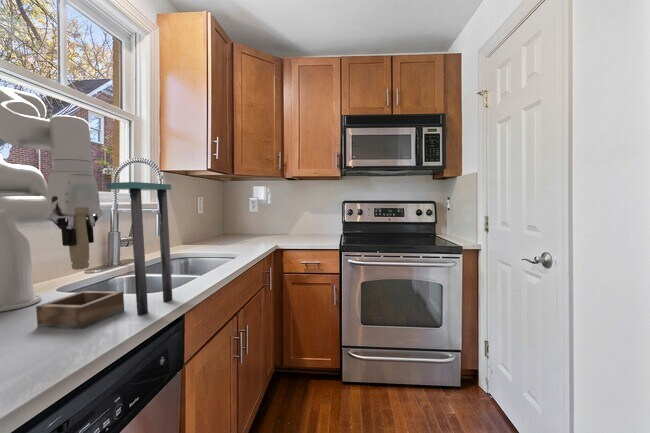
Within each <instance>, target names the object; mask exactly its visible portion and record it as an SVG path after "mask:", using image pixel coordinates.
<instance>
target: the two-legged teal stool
mask: <svg viewBox="0 0 650 433" xmlns="http://www.w3.org/2000/svg"><path fill="white" fill-rule="evenodd" d="M106 189H107V190H118V191H119V190H124V191H129V200H130V203H129V204H130V217H131V218H130V219H131V236H132V249H133V251H132V252H133V253H132V254H133V267H134V283H135V298H136V299H135V301H136V302H135V303H136V315H137V316H146V315H147V314H149V305H148V290H147V289H148V287H147V272H146V271H147V270H146V269H147V268H146V257H145V256H146V255H145V254H146V253H145V238H144V237H145V236H144V221H143V205H142V202H143V201H142V191H156V197H157V198H156V199H157V213H158V231H159V247H160V248H159V250H160V252H159V253H160V264H161V266H160V267H161V269H160V270H161V284H162V285H161V287H162V302H163V303H169V302H172V301H173V286H172V285H173V284H172V282H173V281H172V280H173V279H172V264H171V245H170V228H169V208H168V191H169V190H170V191H171V190H172V184H167V183H155V182H153V183H152V182H143V181H141V182H140V181H139V182H138V181H126V182H123V181H122V182H107V183H106Z"/></svg>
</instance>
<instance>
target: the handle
mask: <svg viewBox="0 0 650 433" xmlns="http://www.w3.org/2000/svg"><path fill="white" fill-rule="evenodd" d="M74 213H75V214H76V216H74V221H73V228H72V229H75V230H76V242H77V244H76V245H75V246H68V251H69V258H70V262H71V268H72V270H76V271H77V270H85V269H88V268H89V267H90V262H89V261H90V243H89V241H88V234H87V227H86V219H87V217H86V215H88V214H89V208H75V211H74Z"/></svg>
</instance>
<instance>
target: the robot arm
mask: <svg viewBox="0 0 650 433" xmlns="http://www.w3.org/2000/svg"><path fill="white" fill-rule="evenodd" d="M46 116H47V108H46V105H45V103H44V102H43V100H42V99H41V98H40V97H38V96H36V95H35V94H32V93H30V92H29V93H28V92H25V91H21V90H18V89H13V88H8V87H6V86H1V85H0V140H1V141H3V142H5V143H7V144H8V145H11V146H14V147H16V148H17V147H19V148H24V149H32V150H33V149H34V150H40V151H41V150H42V151H48V152H51V161H52V162H51V163H52V173H49V176H48V180H47V181H46V178H45V177H44V175H43V173H42V172H41V171H40V170H39V169H38V168H36V167H35V166H32V165H26V164H25V165H24V164H23V165H22V164H13V163H8V162H6V161H5V160H4V158H3V157H2V153H1V152H0V312H8V311H12V310H17V309H21V308H26V307H28V306H31V305H34V304H36V303H39V302H41V300H42V296H41V295H39V294H35V291H34V284H33V283H34V282H33V281H34V280H33V270H32V257H31V256H32V255H31V246H30V244H31V243H30V241H29V240H28V238H27V237H26V236H25V235H24V234H23V233H22V232H21V231H20V230H19V229H20V228H21V229H22V228H32V227H39V226H40V227H43V226H49V225H52V224H53V223H54V224H55V225H56V227H57V229H58V230H61V243H62V246H64V247H69V246H75V245H76V244H77V242H76V230H75V229H72V228H73V221H74V216H76V214H75V213H74V211H75V208H89V214H88V215H86V227H87V234H88V241H89V244H92V243H94V242H95V238H94V236H95V235H94V227H96V223H97V221H98V220H99V219H100V218H101V217H102V216H103V215H104V212H103V211H102V209H101V205H100V203H101V202H100V194H99V189H98V184H97V180H96V177H95V175H94V171H95V167H94V166H93V159H92V158H93V156H92V154H93V153H92V141H91V139H92V138H91V126H90V124H89V122H88V121H87V120H85V119H84V118H81V117H79V116H78V117H77V116H74V115H73V116H71V115H66V114H65V115H63V114H62V115H60V114H59V115H53V116H52V117H50V118H49V119H48V118H47V119H46Z"/></svg>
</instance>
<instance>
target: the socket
mask: <svg viewBox="0 0 650 433" xmlns="http://www.w3.org/2000/svg"><path fill="white" fill-rule="evenodd" d="M35 308H36V310H35V311H36V323H37V324H36V325H37V328H45V329H67V330H69V329H70V330H71V329H73V330H85V329H86V328H88V327H90V326H93V325H95V324H97V323H99V322H102V321H104V320H105V319H106V320H107V319H108V318H111V317H112V316H115V315H116V314H119V313H121V312H124V311H125V298H124V291H114V290H113V291H108V290H106V291H103V290H82V291H79V292H75V293H73V294H69V295H65V296H63V297H61V298H57V299H53V300H52V301H48V302H45V303H42V304H39V305H36V306H35Z"/></svg>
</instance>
